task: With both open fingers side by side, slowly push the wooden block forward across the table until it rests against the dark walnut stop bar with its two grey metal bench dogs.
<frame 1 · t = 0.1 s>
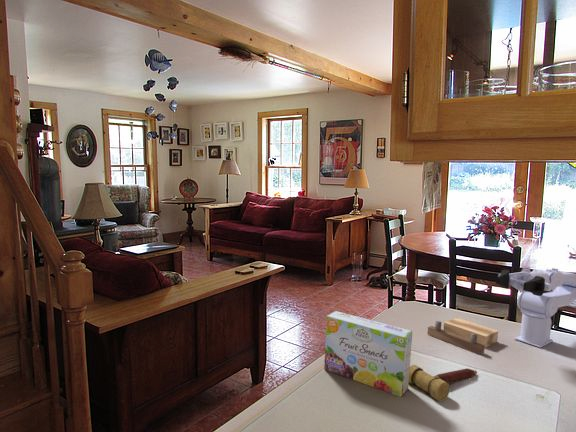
hand: (510, 283, 121), 22 cm above the kitchen counter, tool horizontal, fingers open, 7 cm apart
gavel: (448, 384, 106), on the kitchen counter
wooden block: (469, 338, 136), on the kitchen counter
stop bar: (454, 343, 131), on the kitchen counter
snack box: (364, 380, 106), on the kitchen counter
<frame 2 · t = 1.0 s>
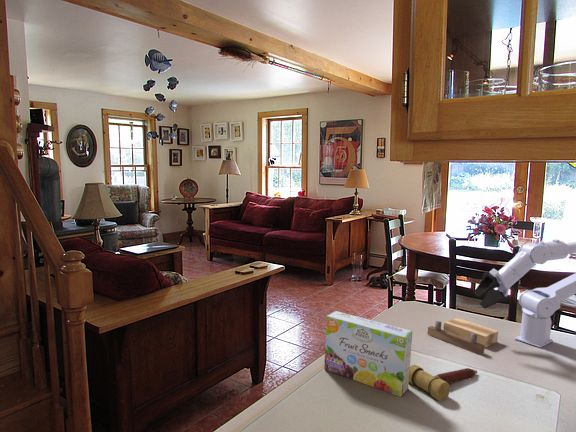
hand: (479, 300, 132), 13 cm above the kitchen counter, tool tilted 45°, fingers open, 7 cm apart
nothing on the kitchen counter moved.
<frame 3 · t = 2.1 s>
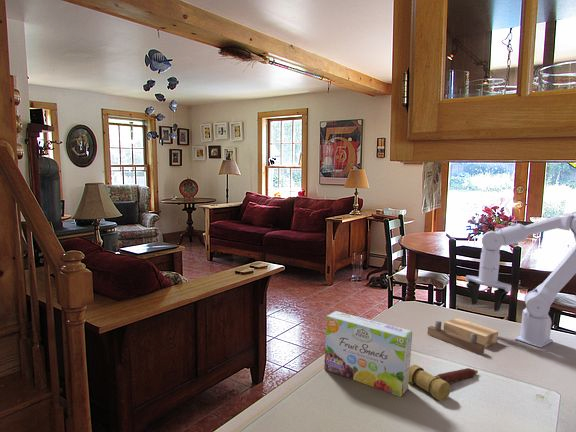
hand: (485, 307, 141), 9 cm above the kitchen counter, tool pointing down, fingers open, 7 cm apart
nothing on the kitchen counter moved.
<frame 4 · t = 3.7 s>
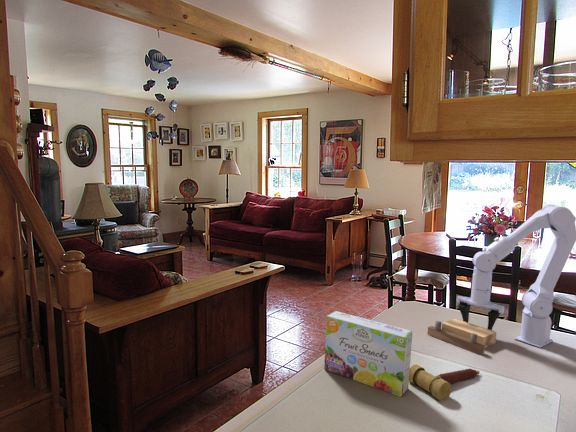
hand: (477, 328, 139), 2 cm above the kitchen counter, tool pointing down, fingers open, 7 cm apart
wooden block: (467, 339, 135), on the kitchen counter
everything else where it was.
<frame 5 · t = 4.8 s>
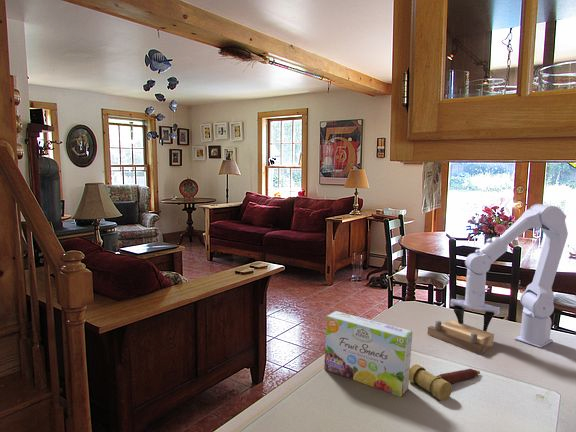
hand: (472, 331, 137), 2 cm above the kitchen counter, tool pointing down, fingers open, 6 cm apart
wooden block: (464, 341, 134), on the kitchen counter, touching gripper, stop bar
everything else where it was.
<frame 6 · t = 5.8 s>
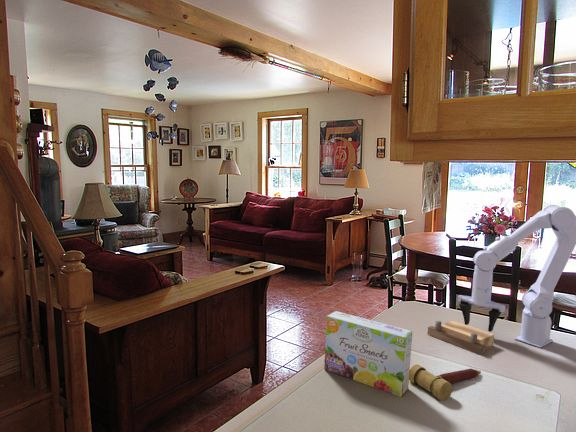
hand: (478, 327, 139), 2 cm above the kitchen counter, tool pointing down, fingers open, 7 cm apart
wooden block: (464, 341, 134), on the kitchen counter
everything else where it was.
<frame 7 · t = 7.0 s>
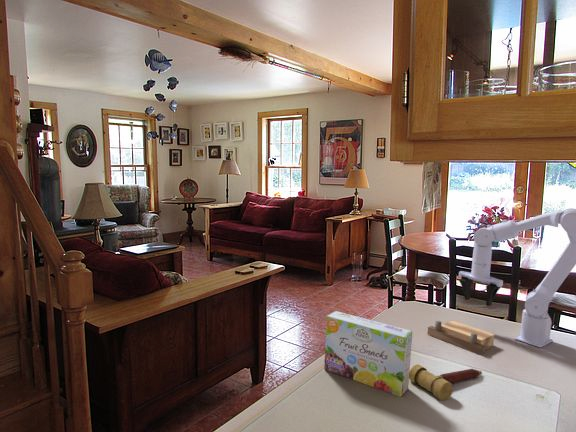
hand: (477, 302, 143), 9 cm above the kitchen counter, tool pointing down, fingers open, 7 cm apart
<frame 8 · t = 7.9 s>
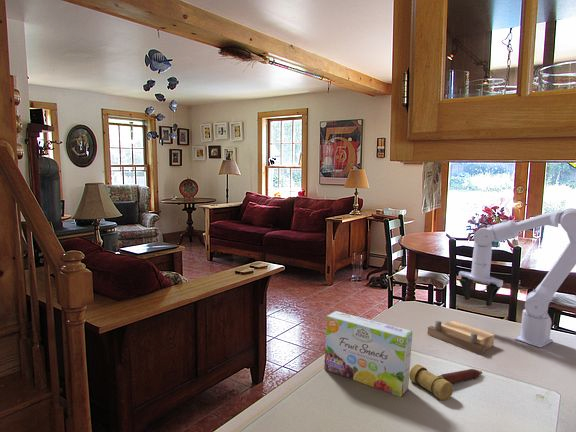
hand: (477, 302, 143), 9 cm above the kitchen counter, tool pointing down, fingers open, 7 cm apart
at the end: wooden block 0.8 cm from the target spot, on the kitchen counter; wooden block 5.2 cm from the stop bar (horizontally); wooden block tilted 0° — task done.
